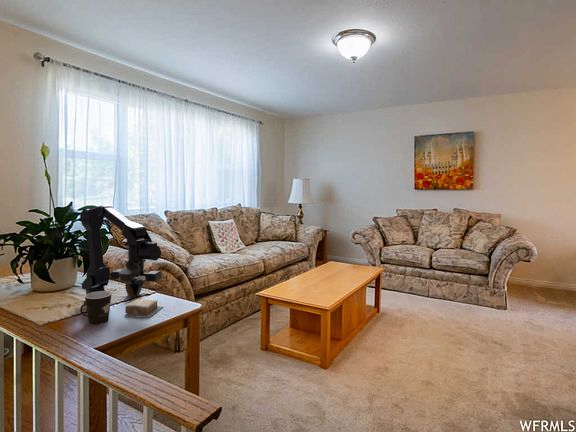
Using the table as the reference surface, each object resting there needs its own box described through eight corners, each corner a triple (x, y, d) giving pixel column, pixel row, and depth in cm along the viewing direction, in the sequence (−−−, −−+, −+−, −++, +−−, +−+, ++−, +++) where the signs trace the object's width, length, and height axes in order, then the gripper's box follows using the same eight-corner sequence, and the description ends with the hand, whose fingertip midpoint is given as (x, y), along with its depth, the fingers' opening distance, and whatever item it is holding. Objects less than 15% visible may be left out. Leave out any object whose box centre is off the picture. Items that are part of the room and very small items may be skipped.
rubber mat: (125, 315, 134) (125, 314, 134) (140, 305, 144) (140, 305, 144) (149, 317, 133) (149, 316, 132) (163, 307, 143) (163, 306, 143)
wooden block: (125, 305, 135) (147, 307, 134) (136, 298, 143) (157, 300, 142) (125, 313, 135) (147, 315, 134) (136, 306, 143) (157, 307, 142)
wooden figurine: (144, 293, 160) (144, 261, 159) (137, 297, 155) (137, 264, 153) (130, 292, 161) (130, 260, 160) (123, 296, 155) (122, 263, 154)
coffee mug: (105, 314, 134) (105, 289, 133) (116, 321, 128) (115, 294, 128) (72, 323, 125) (71, 296, 124) (81, 330, 120) (81, 302, 119)
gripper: (100, 260, 130) (101, 301, 131) (148, 263, 128) (148, 304, 129) (118, 254, 141) (119, 292, 142) (162, 257, 139) (162, 295, 140)
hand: (136, 296), depth 138 cm, fingers closed
